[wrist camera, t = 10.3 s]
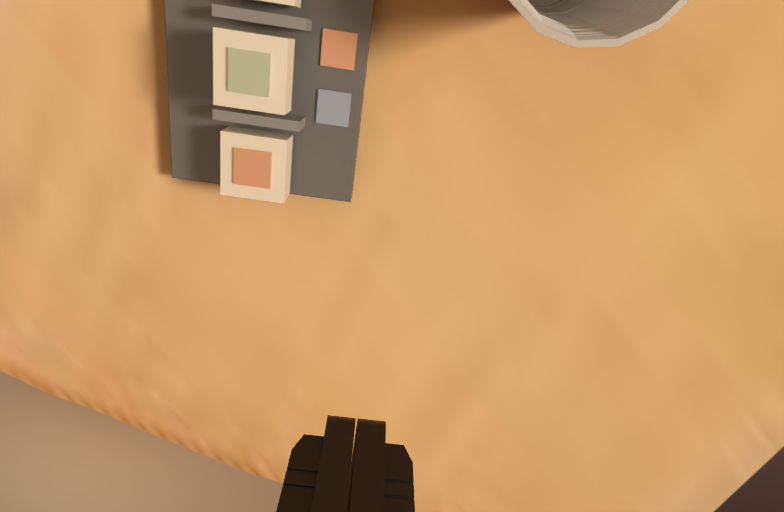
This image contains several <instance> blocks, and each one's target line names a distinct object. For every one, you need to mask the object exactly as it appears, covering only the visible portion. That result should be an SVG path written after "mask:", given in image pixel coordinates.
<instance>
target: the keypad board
mask: <svg viewBox="0 0 784 512" xmlns="http://www.w3.org/2000/svg"><path fill="white" fill-rule="evenodd" d="M373 7H374V0H301V8H297V7H290V6H284V5H278V4H271V3H265V2H259V1H252V0H165V18H166V41H167V65H168V89H169V112H170V136H171V160H172V178H179V179H186V180H193V181H201V182H208V183H215V184H220V131H221V130H223V129H225V128H227V127H229V126H236V127H242V128H249V129H256V130H263V131H270V132H277V133H284V134H291V135H293V146H292V163H291V180H290V194H295V195H303V196H310V197H317V198H324V199H332V200H339V201H346V202H351V198H352V192H353V183H354V175H355V166H356V157H357V148H358V139H359V131H360V122H361V113H362V104H363V95H364V87H365V78H366V69H367V60H368V51H369V43H370V34H371V25H372V16H373ZM213 27H218V28H228V29H234V30H240V31H247V32H253V33H260V34H266V35H273V36H279V37H286V38H292V39H295V48H294V66H293V84H292V102H291V111H290V112H289V113H287V114H286V115H279V114H273V113H266V112H259V111H252V110H245V109H238V108H231V107H225V106H218V105H213Z"/></svg>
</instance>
